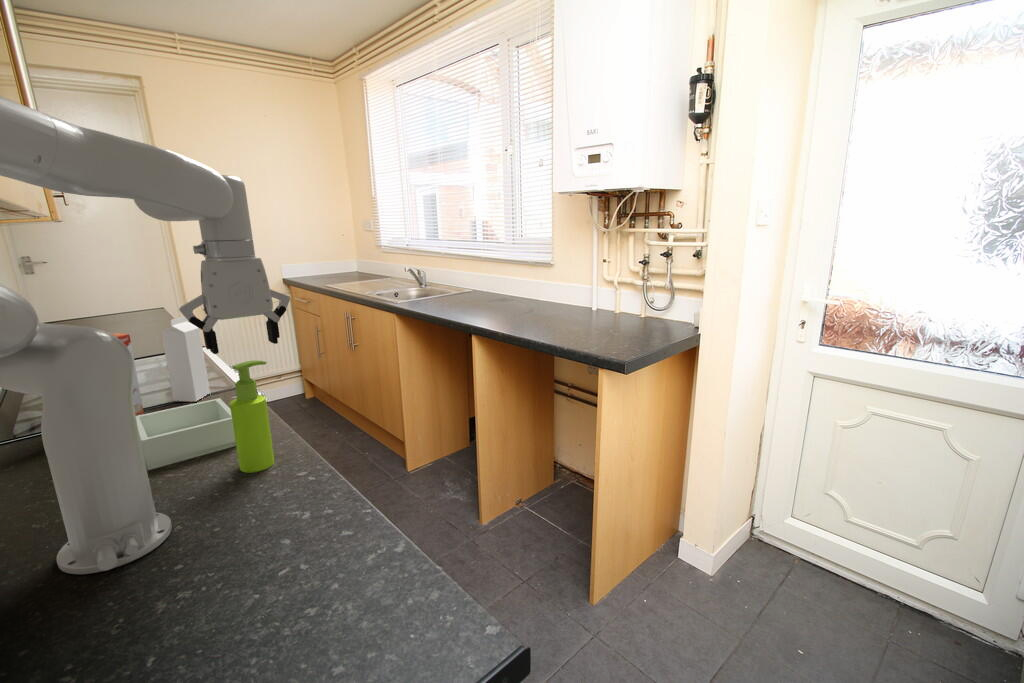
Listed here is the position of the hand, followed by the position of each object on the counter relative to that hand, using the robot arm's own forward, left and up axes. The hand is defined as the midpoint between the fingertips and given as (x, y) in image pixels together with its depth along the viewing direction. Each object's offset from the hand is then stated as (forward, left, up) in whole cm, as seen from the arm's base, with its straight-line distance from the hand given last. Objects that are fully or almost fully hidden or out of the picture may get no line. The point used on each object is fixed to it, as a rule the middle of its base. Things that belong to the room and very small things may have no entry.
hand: (245, 347), depth 86 cm
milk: (+52, +2, -23) cm, 57 cm away
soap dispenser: (0, 0, -23) cm, 23 cm away
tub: (+20, +8, -23) cm, 31 cm away
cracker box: (+43, +20, -23) cm, 53 cm away
